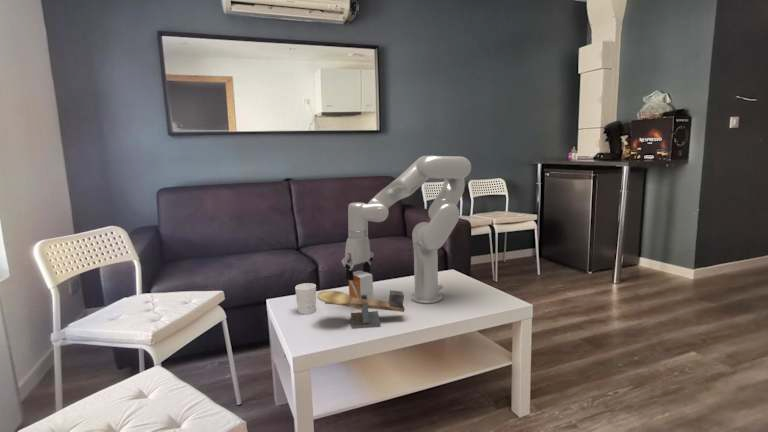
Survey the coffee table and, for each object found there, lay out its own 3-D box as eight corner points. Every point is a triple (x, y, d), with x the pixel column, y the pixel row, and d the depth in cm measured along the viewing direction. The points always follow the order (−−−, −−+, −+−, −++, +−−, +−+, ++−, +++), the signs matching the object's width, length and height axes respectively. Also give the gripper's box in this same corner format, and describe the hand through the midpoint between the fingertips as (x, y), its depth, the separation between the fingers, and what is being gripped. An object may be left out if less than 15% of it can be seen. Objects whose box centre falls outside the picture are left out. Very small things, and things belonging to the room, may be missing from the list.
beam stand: (377, 313, 154) (377, 293, 153) (380, 326, 142) (379, 304, 141) (351, 315, 153) (350, 294, 152) (351, 328, 142) (350, 306, 140)
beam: (400, 304, 155) (402, 288, 154) (405, 316, 143) (407, 299, 142) (317, 295, 151) (320, 279, 150) (315, 307, 139) (317, 289, 139)
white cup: (307, 316, 154) (306, 290, 152) (292, 312, 158) (290, 287, 157) (321, 309, 160) (320, 284, 159) (306, 306, 165) (305, 282, 163)
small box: (349, 304, 165) (347, 273, 163) (362, 300, 169) (360, 269, 167) (361, 309, 159) (359, 277, 157) (374, 305, 163) (372, 273, 161)
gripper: (365, 230, 169) (366, 270, 171) (335, 236, 156) (335, 280, 158) (379, 232, 164) (379, 274, 166) (349, 238, 151) (349, 284, 153)
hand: (358, 277), depth 162 cm, fingers open, 9 cm apart
